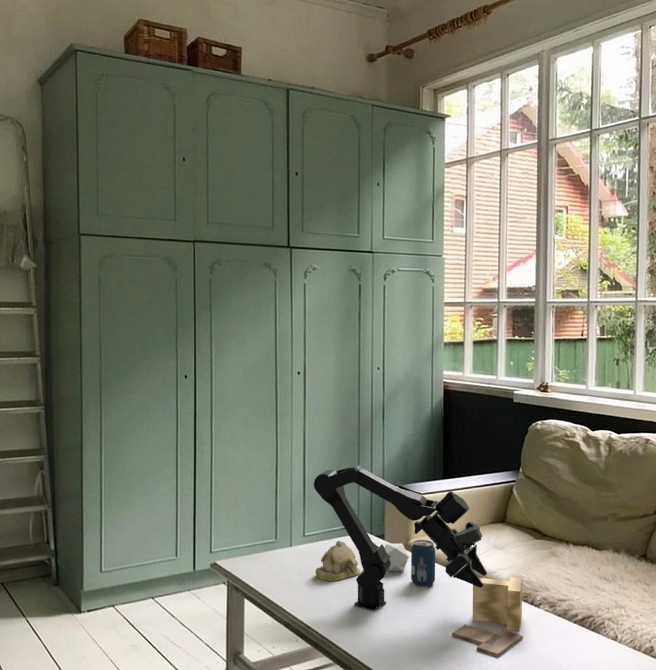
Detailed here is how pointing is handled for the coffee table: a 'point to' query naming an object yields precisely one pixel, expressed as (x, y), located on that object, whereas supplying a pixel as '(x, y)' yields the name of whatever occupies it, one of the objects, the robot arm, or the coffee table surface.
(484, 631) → the walnut T outline
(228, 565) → the coffee table surface
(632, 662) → the coffee table surface
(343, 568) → the ceramic model
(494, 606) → the oak T block
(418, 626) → the coffee table surface
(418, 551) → the soda can
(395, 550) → the white polyhedron
